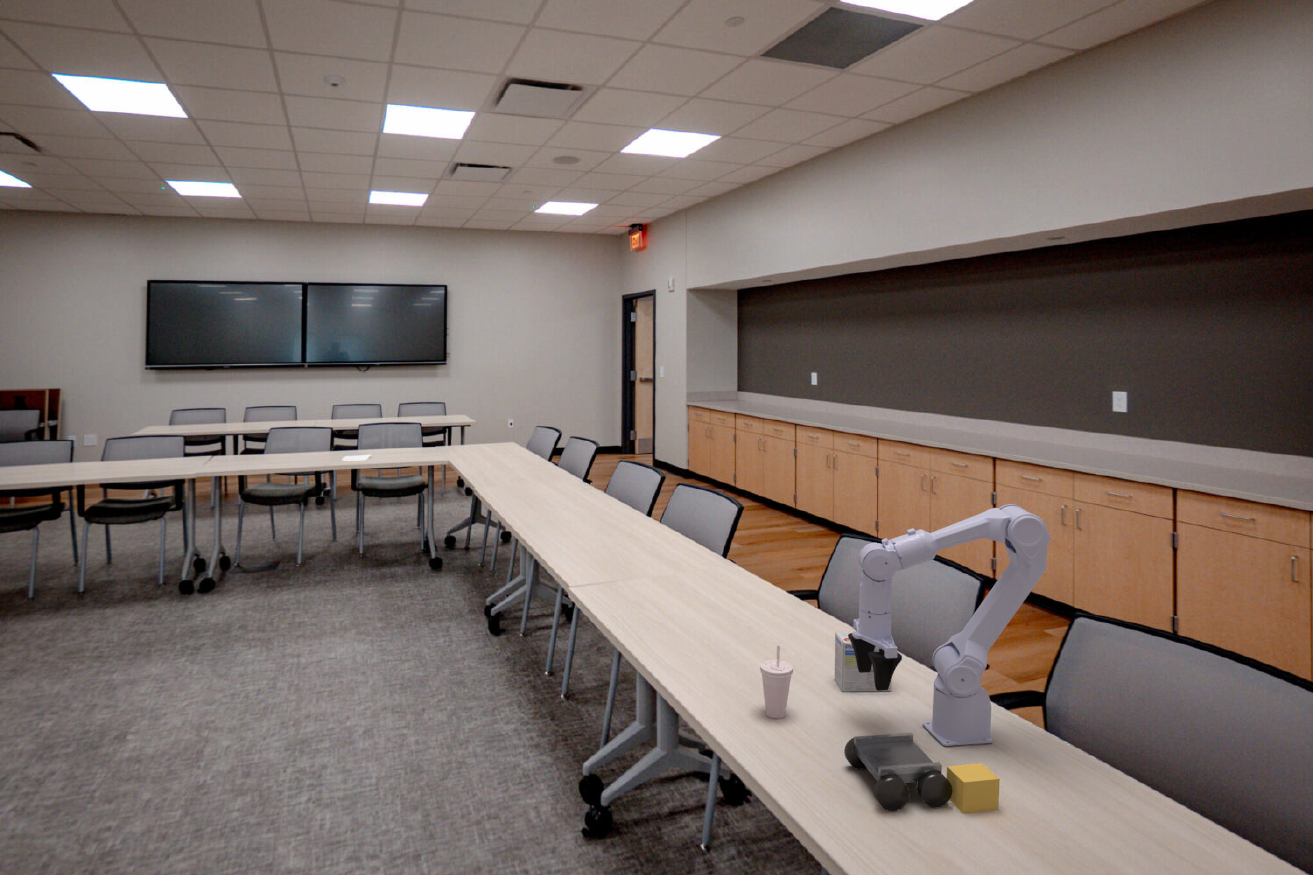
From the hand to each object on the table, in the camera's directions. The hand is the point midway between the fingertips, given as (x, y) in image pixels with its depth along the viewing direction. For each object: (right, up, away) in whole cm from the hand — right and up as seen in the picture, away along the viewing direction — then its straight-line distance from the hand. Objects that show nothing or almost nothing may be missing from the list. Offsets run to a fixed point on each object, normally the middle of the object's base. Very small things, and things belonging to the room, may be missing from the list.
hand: (872, 680), depth 135 cm
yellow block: (+9, -12, -22) cm, 26 cm away
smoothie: (-17, -9, +7) cm, 20 cm away
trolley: (-2, -11, -17) cm, 21 cm away
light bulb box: (+4, -8, +20) cm, 21 cm away
